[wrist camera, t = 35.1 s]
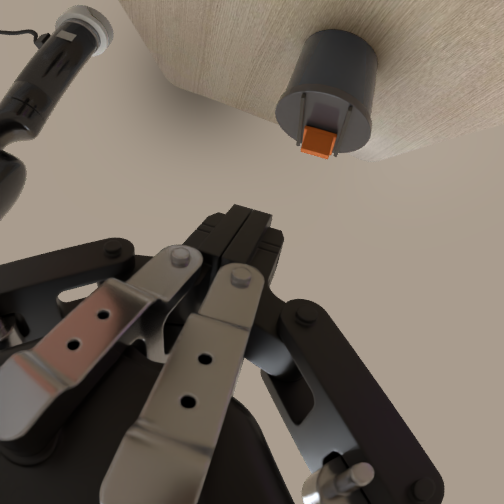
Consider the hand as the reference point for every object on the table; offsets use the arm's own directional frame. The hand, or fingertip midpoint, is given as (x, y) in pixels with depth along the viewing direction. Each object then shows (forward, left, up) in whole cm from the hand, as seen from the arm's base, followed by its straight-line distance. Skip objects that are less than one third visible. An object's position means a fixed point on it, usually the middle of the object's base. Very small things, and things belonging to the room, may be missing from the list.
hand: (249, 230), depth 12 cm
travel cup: (+1, -16, -30) cm, 34 cm away
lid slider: (+1, -18, -17) cm, 25 cm away
